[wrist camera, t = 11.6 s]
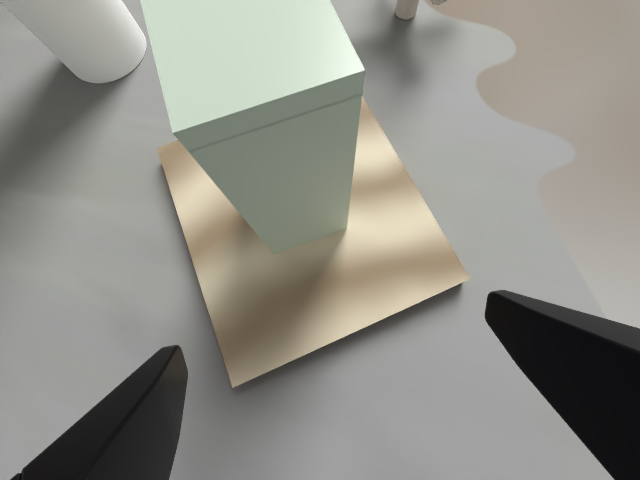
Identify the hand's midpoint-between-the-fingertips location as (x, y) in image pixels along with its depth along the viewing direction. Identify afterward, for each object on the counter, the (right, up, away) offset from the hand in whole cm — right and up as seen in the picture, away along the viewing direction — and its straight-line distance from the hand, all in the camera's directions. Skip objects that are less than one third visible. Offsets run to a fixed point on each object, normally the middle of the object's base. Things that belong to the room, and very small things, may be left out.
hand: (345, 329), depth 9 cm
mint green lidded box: (-2, +5, +12) cm, 13 cm away
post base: (-2, +5, +13) cm, 14 cm away
